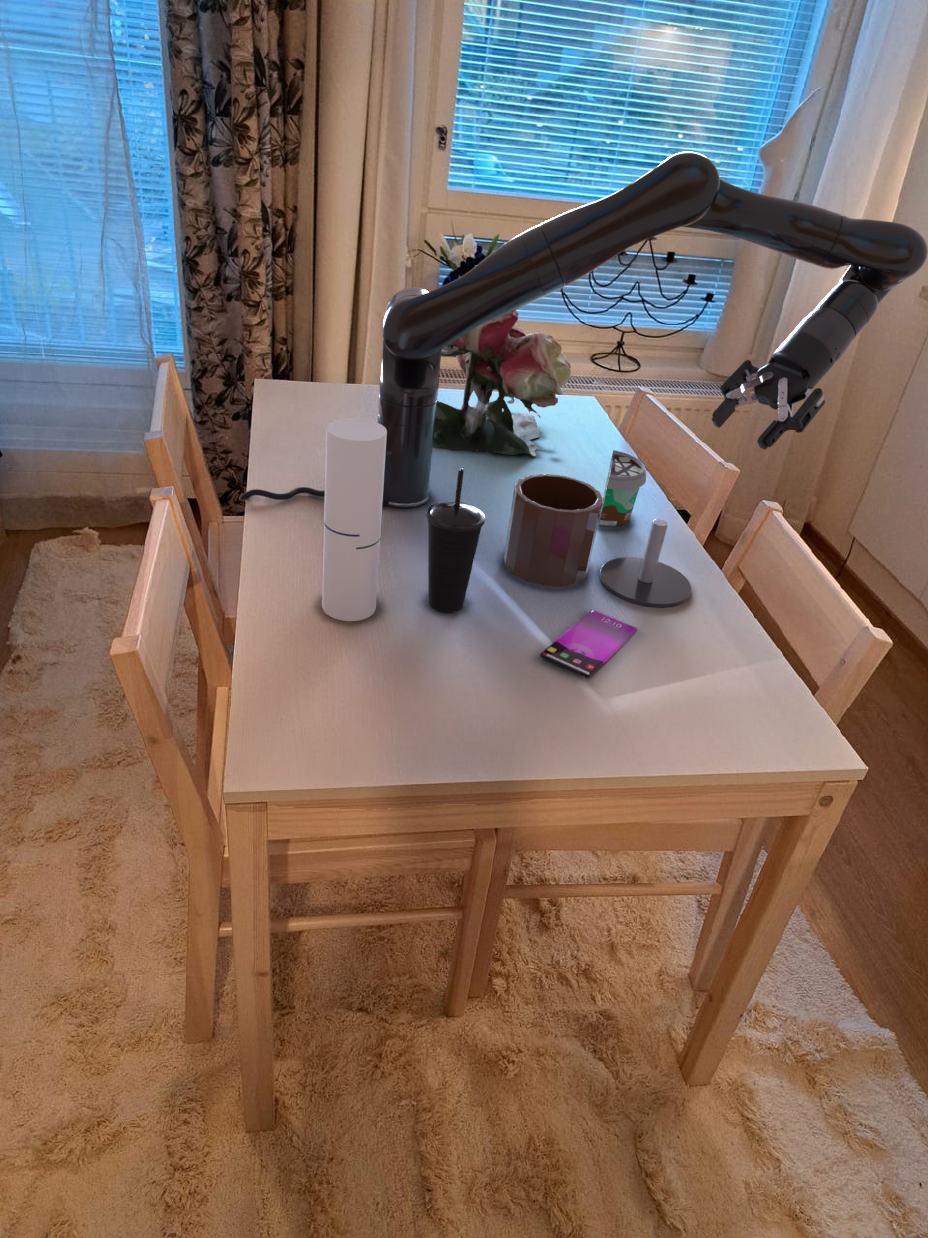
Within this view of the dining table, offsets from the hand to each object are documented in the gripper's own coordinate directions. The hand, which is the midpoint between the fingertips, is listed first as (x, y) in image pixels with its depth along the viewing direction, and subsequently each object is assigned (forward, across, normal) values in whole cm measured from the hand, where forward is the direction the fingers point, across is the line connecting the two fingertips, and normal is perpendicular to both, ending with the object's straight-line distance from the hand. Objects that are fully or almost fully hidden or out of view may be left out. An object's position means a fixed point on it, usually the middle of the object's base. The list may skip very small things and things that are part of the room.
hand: (737, 434), depth 125 cm
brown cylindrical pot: (+32, -11, 0) cm, 33 cm away
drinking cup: (+46, -8, -14) cm, 48 cm away
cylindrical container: (+54, -13, -22) cm, 60 cm away
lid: (+24, 0, +7) cm, 25 cm away
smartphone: (+37, +8, -5) cm, 39 cm away
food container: (+16, -19, +16) cm, 29 cm away
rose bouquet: (+15, -61, +17) cm, 65 cm away
